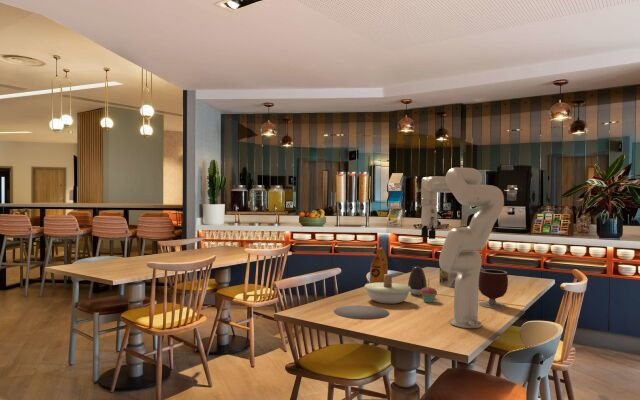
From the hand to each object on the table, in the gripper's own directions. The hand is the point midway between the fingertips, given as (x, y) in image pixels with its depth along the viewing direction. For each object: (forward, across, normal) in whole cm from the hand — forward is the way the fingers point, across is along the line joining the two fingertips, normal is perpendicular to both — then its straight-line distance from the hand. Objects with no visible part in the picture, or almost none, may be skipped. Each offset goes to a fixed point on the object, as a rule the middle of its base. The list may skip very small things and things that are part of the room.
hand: (428, 237), depth 224 cm
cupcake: (+34, +11, -5) cm, 36 cm away
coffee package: (+34, +56, +9) cm, 66 cm away
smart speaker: (+34, +28, -5) cm, 44 cm away
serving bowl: (+34, +10, +17) cm, 39 cm away
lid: (+27, +10, +17) cm, 33 cm away
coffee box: (+34, +52, -33) cm, 70 cm away
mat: (+33, -12, +35) cm, 50 cm away
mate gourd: (+34, 0, -33) cm, 47 cm away
